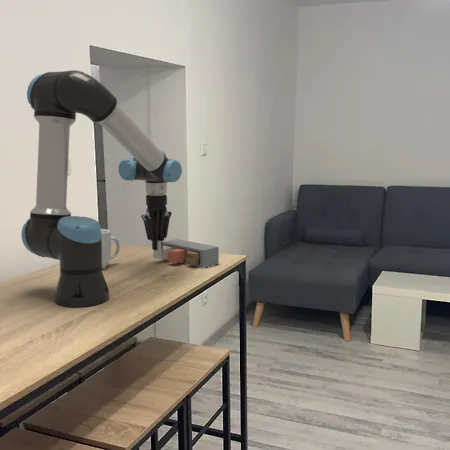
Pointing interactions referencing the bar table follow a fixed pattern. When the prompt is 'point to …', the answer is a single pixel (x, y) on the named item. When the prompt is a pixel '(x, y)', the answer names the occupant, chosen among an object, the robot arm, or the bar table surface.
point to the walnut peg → (193, 257)
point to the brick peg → (177, 255)
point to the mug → (108, 247)
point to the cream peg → (165, 251)
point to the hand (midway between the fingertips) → (157, 258)
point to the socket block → (207, 252)
